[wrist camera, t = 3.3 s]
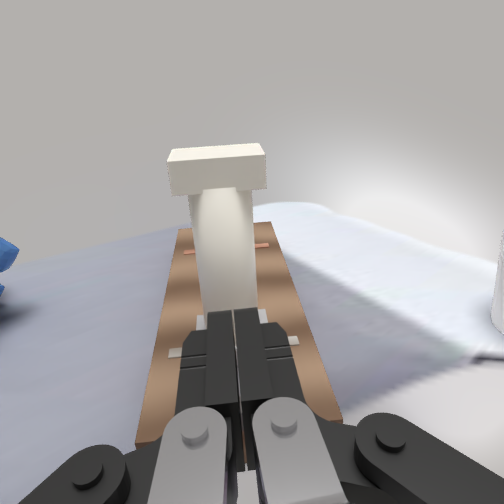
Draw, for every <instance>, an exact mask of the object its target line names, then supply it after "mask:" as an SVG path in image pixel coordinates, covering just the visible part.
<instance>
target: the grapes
mask: <svg viewBox="0 0 504 504" xmlns="http://www.w3.org/2000/svg"><path fill="white" fill-rule="evenodd" d="M18 252H19V249H18V248H17V247H16V246H14V245H13V244H11V243H9V242H8V241H6V240H4V239H3V238H1V237H0V272H3V271H5V270H7V269H9V268H10V266H11V265H12V264H13V262H14V260H15V259H16V257H17V254H18ZM4 288H5V287H4V286H3V285H1V284H0V296H1V294H2V292H3V290H4Z"/></svg>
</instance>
